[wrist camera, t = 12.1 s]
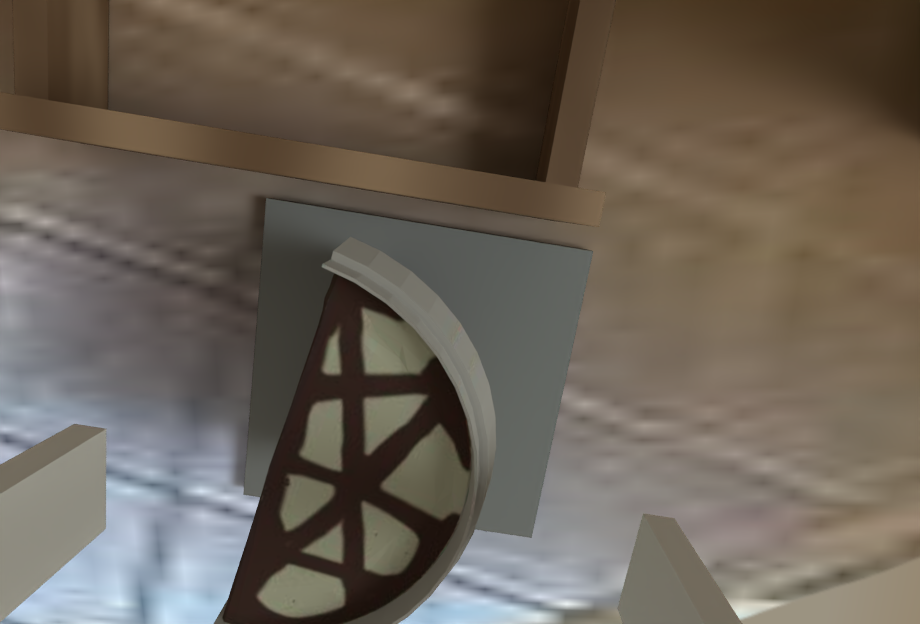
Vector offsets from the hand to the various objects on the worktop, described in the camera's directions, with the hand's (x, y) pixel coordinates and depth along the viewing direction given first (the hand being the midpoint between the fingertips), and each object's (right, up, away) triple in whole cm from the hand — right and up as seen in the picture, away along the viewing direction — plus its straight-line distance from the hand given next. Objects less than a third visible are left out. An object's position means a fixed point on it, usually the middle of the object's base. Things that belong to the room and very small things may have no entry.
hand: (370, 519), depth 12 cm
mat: (0, +2, +11) cm, 11 cm away
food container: (0, +2, +10) cm, 11 cm away
